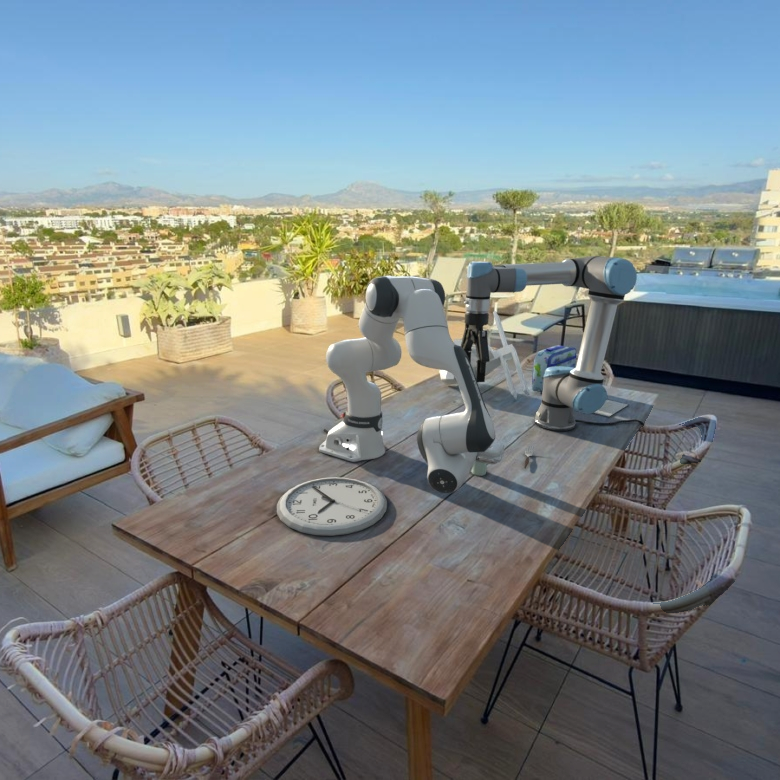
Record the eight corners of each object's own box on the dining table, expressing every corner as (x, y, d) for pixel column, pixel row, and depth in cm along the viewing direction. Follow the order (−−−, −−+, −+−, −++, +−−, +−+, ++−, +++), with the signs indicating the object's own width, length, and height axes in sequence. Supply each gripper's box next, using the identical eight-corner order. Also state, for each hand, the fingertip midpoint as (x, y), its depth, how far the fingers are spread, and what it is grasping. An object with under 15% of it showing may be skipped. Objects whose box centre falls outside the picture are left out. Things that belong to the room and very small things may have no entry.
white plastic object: (461, 429, 252) (437, 405, 227) (444, 352, 274) (420, 323, 250) (535, 404, 240) (518, 377, 215) (510, 326, 262) (492, 293, 237)
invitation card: (608, 416, 214) (573, 407, 224) (608, 416, 214) (573, 408, 224) (628, 404, 229) (594, 396, 238) (628, 405, 229) (594, 397, 238)
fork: (520, 469, 166) (521, 463, 165) (526, 450, 180) (526, 444, 180) (528, 470, 165) (529, 464, 164) (533, 451, 179) (534, 445, 179)
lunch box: (548, 398, 236) (553, 353, 229) (527, 393, 243) (531, 349, 237) (575, 387, 253) (581, 344, 247) (555, 382, 260) (560, 341, 254)
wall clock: (392, 527, 129) (268, 531, 127) (391, 533, 130) (269, 537, 127) (383, 473, 158) (282, 475, 155) (383, 478, 158) (282, 480, 156)
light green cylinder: (472, 475, 161) (476, 428, 157) (470, 469, 166) (473, 423, 161) (487, 475, 161) (491, 428, 157) (484, 469, 166) (488, 423, 161)
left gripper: (500, 451, 131) (510, 432, 143) (423, 437, 138) (438, 420, 150) (498, 474, 133) (507, 453, 145) (422, 459, 140) (437, 440, 152)
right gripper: (453, 306, 177) (450, 366, 183) (479, 318, 153) (475, 387, 160) (474, 305, 178) (470, 366, 185) (503, 318, 155) (498, 386, 161)
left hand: (472, 436), depth 148 cm, fingers open, 8 cm apart
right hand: (472, 376), depth 172 cm, fingers open, 13 cm apart
